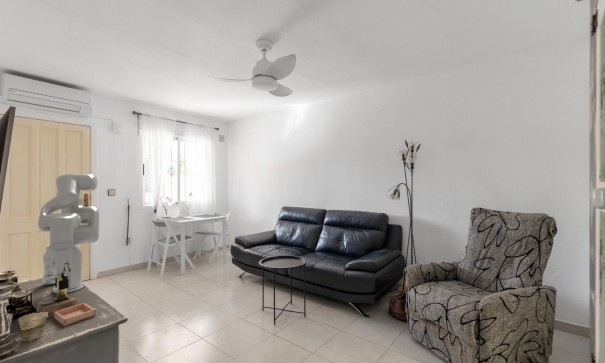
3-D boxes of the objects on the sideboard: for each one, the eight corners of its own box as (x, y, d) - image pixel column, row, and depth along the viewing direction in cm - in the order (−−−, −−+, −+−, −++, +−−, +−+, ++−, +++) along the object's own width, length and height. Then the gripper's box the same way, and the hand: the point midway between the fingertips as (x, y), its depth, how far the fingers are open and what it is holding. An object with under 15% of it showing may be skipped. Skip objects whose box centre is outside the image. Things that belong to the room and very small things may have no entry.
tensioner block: (37, 312, 117) (37, 298, 117) (67, 303, 125) (67, 290, 125) (45, 318, 112) (45, 304, 111) (76, 309, 120) (76, 295, 120)
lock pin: (53, 299, 120) (53, 274, 119) (66, 296, 123) (66, 271, 123) (57, 302, 117) (57, 276, 117) (69, 298, 121) (70, 273, 121)
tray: (53, 318, 112) (53, 311, 112) (83, 308, 121) (83, 302, 121) (64, 326, 106) (64, 319, 106) (95, 315, 115) (95, 309, 115)
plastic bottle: (49, 281, 150) (49, 244, 150) (62, 281, 150) (62, 244, 150) (38, 286, 143) (38, 247, 143) (52, 286, 144) (53, 247, 144)
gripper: (43, 243, 121) (43, 286, 121) (57, 250, 112) (57, 295, 113) (65, 240, 127) (65, 280, 128) (80, 246, 118) (80, 289, 119)
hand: (61, 287), depth 120 cm, fingers closed on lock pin, 3 cm apart
